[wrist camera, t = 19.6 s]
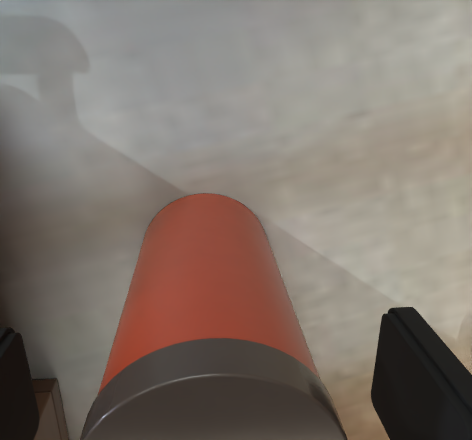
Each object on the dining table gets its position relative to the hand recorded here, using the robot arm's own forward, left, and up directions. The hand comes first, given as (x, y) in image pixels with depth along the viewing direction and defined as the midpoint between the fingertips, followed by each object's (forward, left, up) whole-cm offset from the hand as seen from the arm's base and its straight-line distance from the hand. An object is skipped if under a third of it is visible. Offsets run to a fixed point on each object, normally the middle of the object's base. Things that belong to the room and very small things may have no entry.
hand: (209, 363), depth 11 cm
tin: (0, 0, -6) cm, 6 cm away
